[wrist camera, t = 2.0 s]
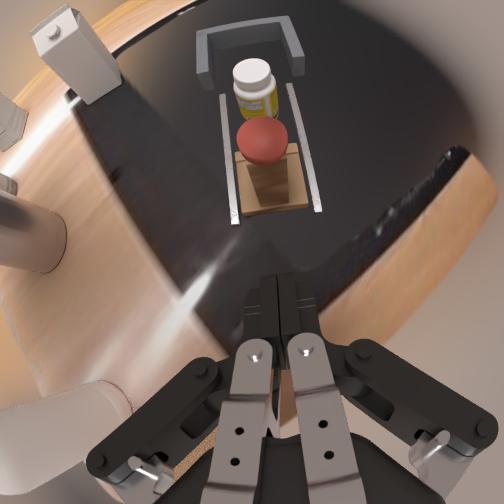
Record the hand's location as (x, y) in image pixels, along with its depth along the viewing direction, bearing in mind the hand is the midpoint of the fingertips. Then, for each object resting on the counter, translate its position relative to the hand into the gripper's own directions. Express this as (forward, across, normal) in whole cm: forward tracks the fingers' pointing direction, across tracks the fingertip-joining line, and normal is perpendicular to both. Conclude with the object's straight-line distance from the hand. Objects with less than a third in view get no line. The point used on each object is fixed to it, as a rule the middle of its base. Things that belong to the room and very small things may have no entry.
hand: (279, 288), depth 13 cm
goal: (+36, 0, -12) cm, 38 cm away
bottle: (+4, +25, +21) cm, 33 cm away
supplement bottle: (+28, 0, -4) cm, 29 cm away
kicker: (+21, 0, +4) cm, 21 cm away
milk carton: (+39, +26, -16) cm, 50 cm away
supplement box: (+39, +52, -16) cm, 67 cm away
